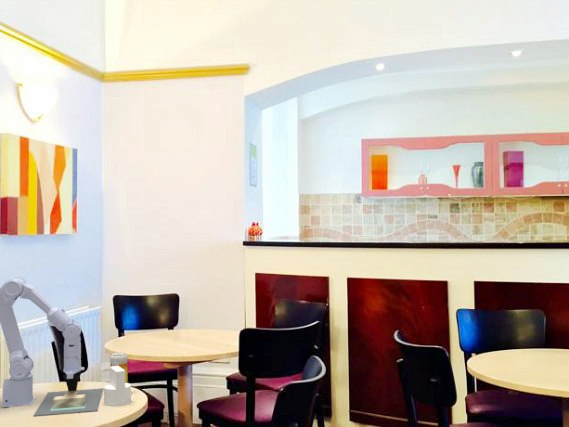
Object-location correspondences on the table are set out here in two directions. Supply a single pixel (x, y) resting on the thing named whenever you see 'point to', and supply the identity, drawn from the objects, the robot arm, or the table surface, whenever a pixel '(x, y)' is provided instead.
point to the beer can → (119, 362)
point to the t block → (69, 400)
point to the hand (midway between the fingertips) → (72, 394)
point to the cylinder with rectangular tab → (117, 388)
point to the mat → (90, 406)
